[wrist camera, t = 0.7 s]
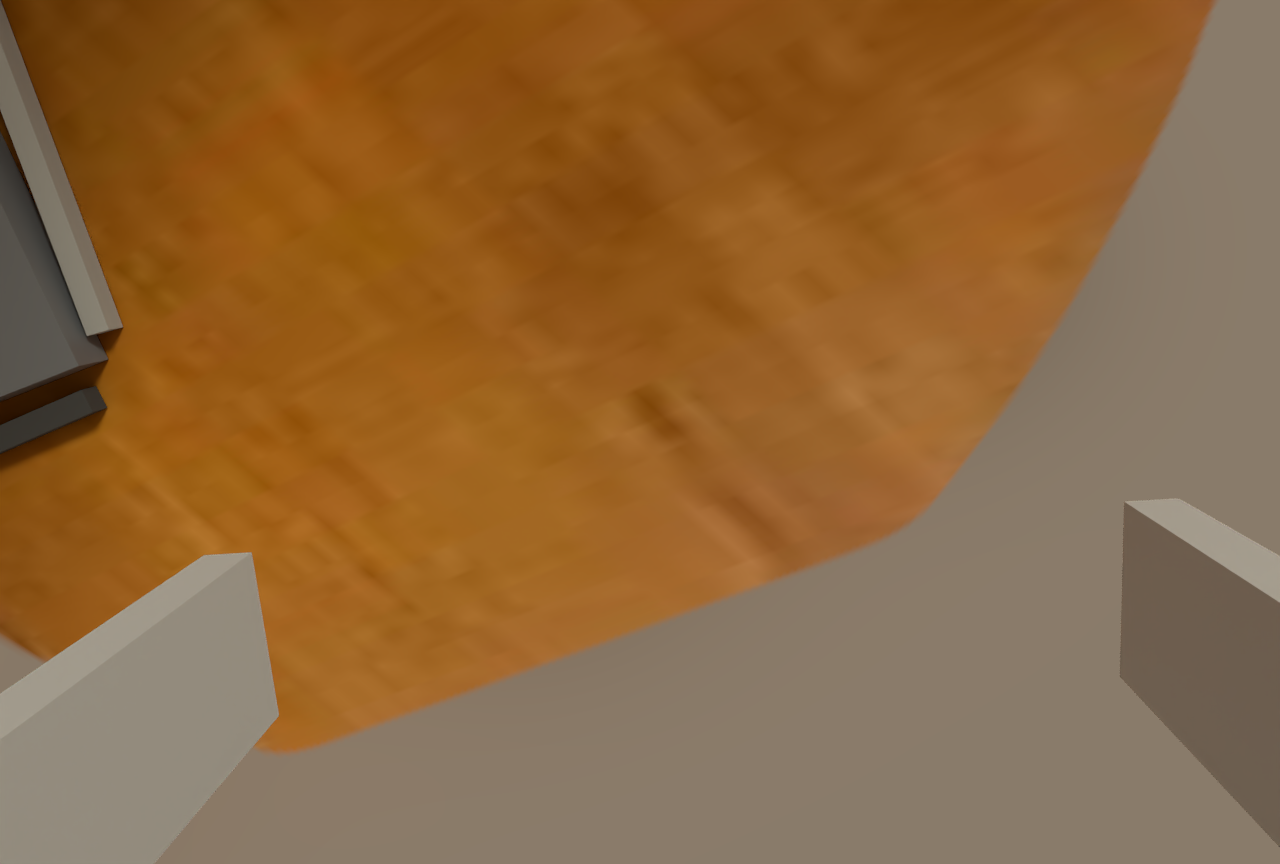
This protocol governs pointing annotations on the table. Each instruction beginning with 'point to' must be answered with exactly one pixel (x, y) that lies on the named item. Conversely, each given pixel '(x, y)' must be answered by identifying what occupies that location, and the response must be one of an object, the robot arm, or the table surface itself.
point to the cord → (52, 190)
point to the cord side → (50, 418)
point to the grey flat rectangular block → (34, 297)
